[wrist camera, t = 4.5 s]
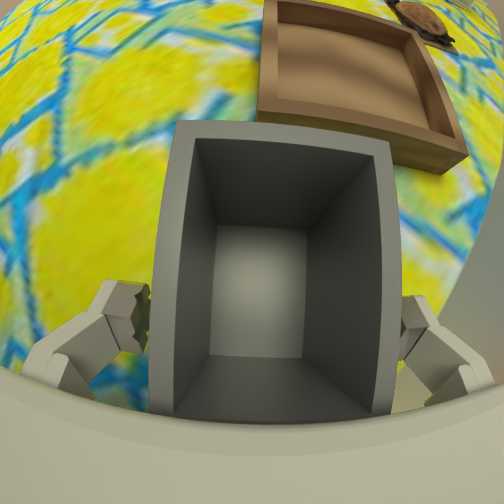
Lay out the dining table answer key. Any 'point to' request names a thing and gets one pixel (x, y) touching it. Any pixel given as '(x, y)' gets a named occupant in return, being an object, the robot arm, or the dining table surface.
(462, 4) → the supplement box
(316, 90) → the tray
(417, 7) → the bread roll
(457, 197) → the dining table surface
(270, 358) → the small crate
